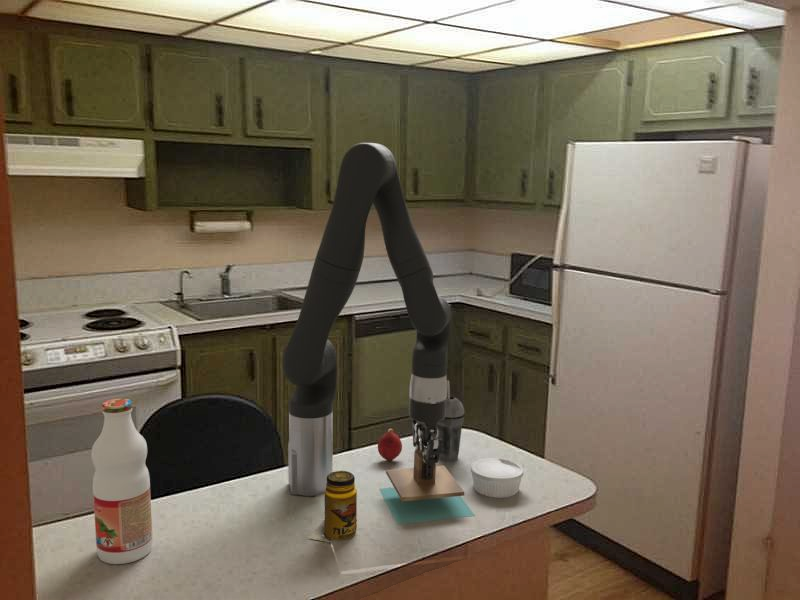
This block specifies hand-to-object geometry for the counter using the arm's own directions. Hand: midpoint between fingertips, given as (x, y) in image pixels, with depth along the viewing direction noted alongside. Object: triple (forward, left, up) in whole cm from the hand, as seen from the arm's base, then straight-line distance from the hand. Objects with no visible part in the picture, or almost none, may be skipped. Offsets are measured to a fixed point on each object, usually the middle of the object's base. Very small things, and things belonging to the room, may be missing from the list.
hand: (424, 474), depth 148 cm
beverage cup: (+12, +21, -7) cm, 25 cm away
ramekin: (+17, +3, -7) cm, 19 cm away
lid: (0, 0, -2) cm, 2 cm away
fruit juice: (-58, -6, -7) cm, 59 cm away
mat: (0, 0, -6) cm, 7 cm away
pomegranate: (-2, +23, -7) cm, 24 cm away
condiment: (-20, -8, -7) cm, 22 cm away
